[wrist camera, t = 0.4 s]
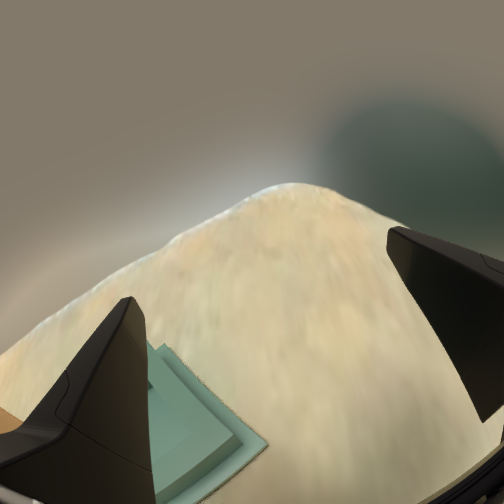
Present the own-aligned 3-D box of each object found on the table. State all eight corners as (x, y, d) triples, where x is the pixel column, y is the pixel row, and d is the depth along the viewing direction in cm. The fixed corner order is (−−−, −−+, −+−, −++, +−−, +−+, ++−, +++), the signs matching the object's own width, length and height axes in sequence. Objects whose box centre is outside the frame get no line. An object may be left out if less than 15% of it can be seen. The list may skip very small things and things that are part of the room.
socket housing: (268, 445, 18) (261, 433, 15) (142, 537, 11) (112, 539, 9) (167, 347, 27) (149, 322, 24) (70, 421, 20) (43, 404, 17)
